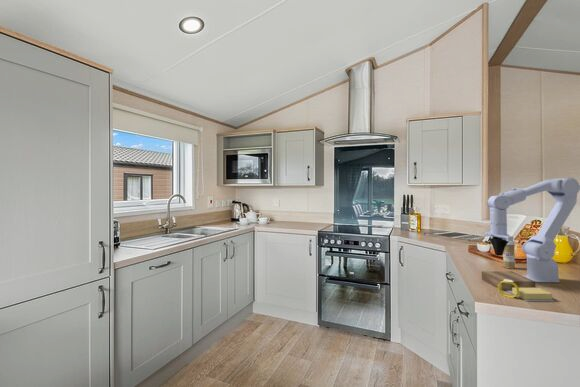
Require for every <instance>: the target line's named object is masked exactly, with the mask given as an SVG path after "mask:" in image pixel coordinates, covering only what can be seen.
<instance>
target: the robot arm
mask: <svg viewBox="0 0 580 387" xmlns="http://www.w3.org/2000/svg"><path fill="white" fill-rule="evenodd" d="M542 192H547V193H548V194H549V195H550V196H551V197H552V198H553V199H554V200H555V202H556V203H555V205H554V206H553V207H552V208H551V211H550V213H549V214H548V216H547V217H546V219H545V221H544V223H543V224H542V225H541V227H540V229H539V230H538V232H537V233H536V234H535V235H533V236H530V237H529V239H528V240H527V241H525V242H524V243H523V244H522V251H523V253H524V254H525V257H526V274H525V275H524V274H522V275H521V276H524V277H526V278H528V279H531V280H533V281H535V283H561V281H560V280H559V264H558V263H557V261H556V260H555V259H553V257H554V256H555V250H556V247H557V245H556V242H554V240H555V238H556V237H557V236H558V234H559V232H560V230H561V229H562V228H563V226H564V224H565V222H566V221H567V220H568V218H569V216H570V214H571V213H572V212H573V209H574V208H575V206H576V204H577V201H578V200H577V199H578V194H579V192H580V184H579V181H578V180H577V179H576V178H574V177H566V178H564V177H563V178H561V177H560V178H549V179H544V180H542V181H540V182H537V183H534V184H532V185H530V186H528V187H526V188H523V189H521V188H517V187H512V188H511V189H510V190H509V191H506V192H499V194H498V195H492V196H490V197H489V198H488V200H487V201H486V204H487V207H488V208H489V212H490V213H489V226H490V231H489V230H487V231H485V236H486V237H489V238H488V241H490V243H491V245H492V248H493V251H494V254H495V256H500V257H501V256H502V257H503V252H504V249H505V247H506V245H507V243H508V242H509V241H514V236H511V235H510V234H508V218H507V217H508V211H507V210H508V208H509V207H510V206H513V205H515V204H518V203H521V202H524V201H525V200H526V199H527V197H530V196H532V195H537V194H539V193H542Z"/></svg>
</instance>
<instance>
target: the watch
mask: <svg viewBox="0 0 580 387" xmlns="http://www.w3.org/2000/svg"><path fill="white" fill-rule="evenodd" d="M503 282H505V283H509V284H512V285H514V286H515V288H516V289H517V293H516V295H510V294H505V293H504V292H503V290H501V289H500V285H501V283H503ZM497 290H498V292H499V294H500V295H501V296H503V297H507V298H512V299H513V298H516V297H517V295H518V294H519V288H518V286H517V285H516V284H515V283H513V281H512V280H508V279H504V281H502V282H500V283H499V284H498V288H497Z"/></svg>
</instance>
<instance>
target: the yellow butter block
mask: <svg viewBox="0 0 580 387" xmlns="http://www.w3.org/2000/svg"><path fill="white" fill-rule="evenodd" d="M512 293H513V294H512ZM512 293H511V294H512V295H514V294H515V295H516V293H517V289H516V288H512ZM515 295H514V296H515ZM517 296H519V297H521V298H523V299H550V300H553V293H551V292H549V291H547V290H545V289H543V288H541V287H536V288H519V294H518V295H517ZM517 296H516V297H517ZM519 297H518V298H519ZM521 298H520V299H521ZM523 299H522V300H523Z"/></svg>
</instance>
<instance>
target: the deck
mask: <svg viewBox="0 0 580 387" xmlns="http://www.w3.org/2000/svg"><path fill="white" fill-rule="evenodd" d="M504 279H508V280H512V281H513V283H515V284H516V285H517V286H518V288H537V287H536V282H535V281H533V280H531V279H528V278H526V277H524V276H522V275H521V274H520V273H516V272H515V271H505V270H504V271H496V270H494V271H488V270H487V271H481V281H484V282H486V283H487V284H490V285H491V286H493V287H494V288H497V289H498V284H499V283H500V282H502V281H504ZM512 288H515V286H514V285H512V284H509V283H505V282H503V283H501V285H500V289H501V291H506V290H512Z"/></svg>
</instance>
